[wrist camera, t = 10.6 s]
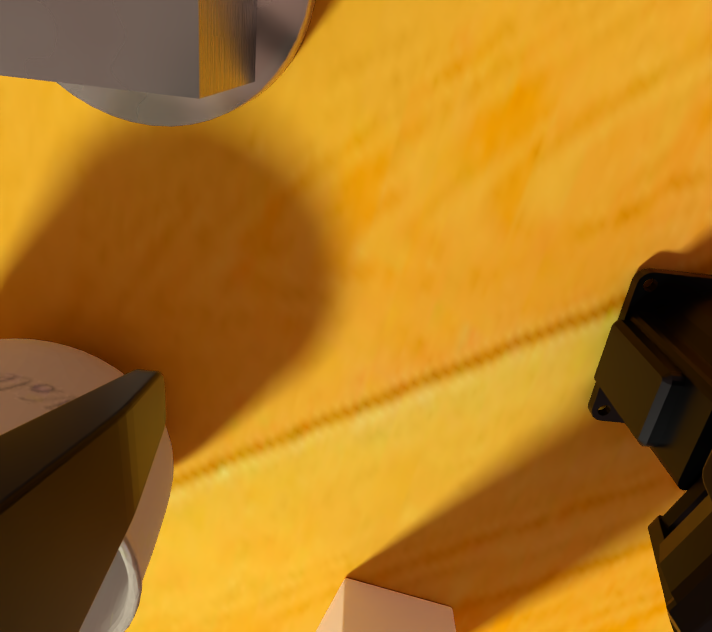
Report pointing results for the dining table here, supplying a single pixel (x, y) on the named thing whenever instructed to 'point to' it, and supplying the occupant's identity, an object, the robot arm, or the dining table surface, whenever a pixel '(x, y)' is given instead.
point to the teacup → (52, 389)
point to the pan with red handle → (273, 54)
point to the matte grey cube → (132, 44)
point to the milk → (383, 611)
